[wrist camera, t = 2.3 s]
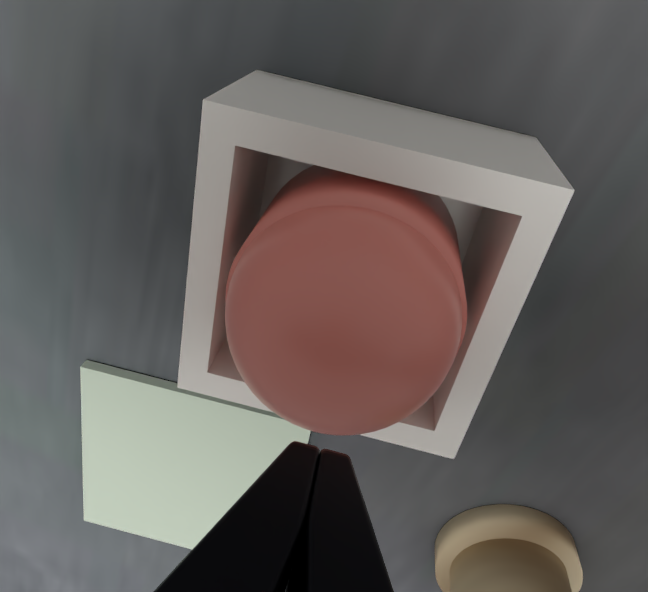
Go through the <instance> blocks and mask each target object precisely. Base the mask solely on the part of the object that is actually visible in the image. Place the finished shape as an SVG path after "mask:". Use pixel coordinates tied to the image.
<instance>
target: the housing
mask: <svg viewBox="0 0 648 592" xmlns="http://www.w3.org/2000/svg"><path fill="white" fill-rule="evenodd" d="M313 165H317V166H321V167H325V168H329V169H333V170H337V171H341V172H345V173H349V174H353V175H357V176H361V177H365V178H369V179H374V180H378V181H382V182H386V183H390V184H394V185H398V186H402V187H406V188H410V189H414V190H418V191H422V192H426V193H430V194H434V195H439V196H440V198H441V199H442V201H443V202H444V204H445V205H446V207H447V209H448V211H449V213H450V215H451V217H452V219H453V222H454V225H455V229H456V232H457V238H458V245H459V252H460V259H461V266H462V273H463V280H464V287H465V294H466V301H467V324H466V330H465V335H464V338H463V341H462V344H461V347H460V349H459V351H458V353H457V355H456V357H455V359H454V362H453V364H452V366H451V368H450V370H449V372H448V374H447V376H446V378H445V379H444V381H443V382H442V384H441V385H440V387H439V388H438V390H437V391H436V392H435V393H434V394H433V395H432V396H431V397H430V398H429V400H428V401H427V402H426V403H425V404H424V405H423V406H421V407H420V408H419V409H418V410H416V411H415V412H414V413H413V414H411V415H409V416H408V417H406V418H405V419H403V420H401V421H399V422H398V423H395V424H393V425H391V426H389V427H387V428H384V429H381V430H378V431H375V432H370V433H365V434H359V435H362V436H366V437H370V438H374V439H378V440H382V441H386V442H389V443H393V444H397V445H401V446H405V447H409V448H413V449H416V450H420V451H424V452H428V453H432V454H436V455H440V456H443V457H447V458H451V459H454V458H455V456H456V454H457V451H458V449H459V447H460V445H461V442H462V440H463V438H464V436H465V433H466V431H467V429H468V427H469V425H470V422H471V420H472V418H473V416H474V413H475V411H476V409H477V407H478V405H479V402H480V400H481V398H482V396H483V393H484V391H485V389H486V387H487V384H488V382H489V380H490V378H491V376H492V373H493V371H494V369H495V367H496V364H497V362H498V360H499V358H500V356H501V353H502V351H503V349H504V347H505V344H506V342H507V340H508V338H509V335H510V333H511V331H512V329H513V327H514V324H515V322H516V320H517V318H518V315H519V313H520V311H521V309H522V307H523V304H524V302H525V300H526V298H527V295H528V293H529V291H530V289H531V286H532V284H533V282H534V280H535V278H536V275H537V273H538V271H539V269H540V266H541V264H542V262H543V260H544V258H545V255H546V253H547V251H548V249H549V246H550V244H551V242H552V240H553V237H554V235H555V233H556V231H557V229H558V226H559V224H560V222H561V220H562V217H563V215H564V213H565V211H566V209H567V206H568V204H569V202H570V200H571V197H572V195H573V193H574V191H575V190H574V189H573V187H572V186H571V185H570V183H569V182H568V180H567V179H566V178H565V176H564V175H563V174H562V172H561V171H560V169H559V168H558V167H557V165H556V164H555V163H554V161H553V160H552V158H551V157H550V156H549V154H548V153H547V152H546V150H545V149H544V147H543V146H542V145H541V143H540V142H539V141H538V139H537V138H536V137H533V136H529V135H525V134H521V133H517V132H512V131H508V130H504V129H500V128H496V127H492V126H488V125H484V124H479V123H475V122H471V121H467V120H463V119H459V118H455V117H450V116H446V115H442V114H438V113H434V112H430V111H426V110H422V109H417V108H413V107H409V106H405V105H401V104H397V103H393V102H388V101H384V100H380V99H376V98H372V97H368V96H364V95H360V94H355V93H351V92H347V91H343V90H339V89H335V88H331V87H326V86H322V85H318V84H314V83H310V82H306V81H302V80H298V79H293V78H289V77H285V76H281V75H277V74H273V73H269V72H264V71H260V70H255V71H253V72H252V73H250V74H248V75H246V76H244V77H243V78H241V79H239V80H237V81H235V82H234V83H232V84H230V85H228V86H226V87H225V88H223V89H221V90H219V91H217V92H216V93H214V94H212V95H210V96H208V97H207V98H205V99H203V105H202V116H201V127H200V138H199V150H198V161H197V172H196V183H195V194H194V205H193V216H192V228H191V239H190V250H189V261H188V272H187V283H186V294H185V306H184V317H183V328H182V339H181V350H180V361H179V373H178V384H177V388H181V389H185V390H189V391H193V392H196V393H200V394H204V395H208V396H212V397H216V398H220V399H223V400H227V401H231V402H235V403H239V404H243V405H247V406H250V407H254V408H258V409H262V410H266V411H270V412H273V411H271V410H270V409H269V408H267V407H266V406H265V405H264V404H263V403H262V402H261V401H260V400H259V399H258V398H257V397H256V396H255V395H254V394H253V393H252V391H251V390H250V389H249V387H248V386H247V384H246V383H245V382H244V380H243V379H242V377H241V375H240V373H239V372H238V370H237V368H236V365H235V363H234V360H233V358H232V355H231V352H230V349H229V345H228V341H227V336H226V325H225V306H226V302H225V297H226V284H227V279H228V275H229V271H230V269H231V266H232V263H233V261H234V259H235V257H236V255H237V253H238V252H239V250H240V248H241V247H242V245H243V244H244V242H245V241H246V239H247V238H248V236H249V235H250V233H251V232H252V230H253V229H254V227H255V226H256V224H257V223H258V221H259V220H260V218H261V217H262V215H263V214H264V212H265V211H266V209H267V208H268V206H269V205H270V203H271V202H272V200H273V199H274V197H275V196H276V195H277V193H278V192H279V191H280V190H281V188H282V187H283V186H284V185H285V184H286V183H287V182H288V181H289V180H290V179H292V178H293V177H295V176H296V175H297V174H299V173H300V172H301V171H303V170H305V169H307V168H309V167H311V166H313Z"/></svg>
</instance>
